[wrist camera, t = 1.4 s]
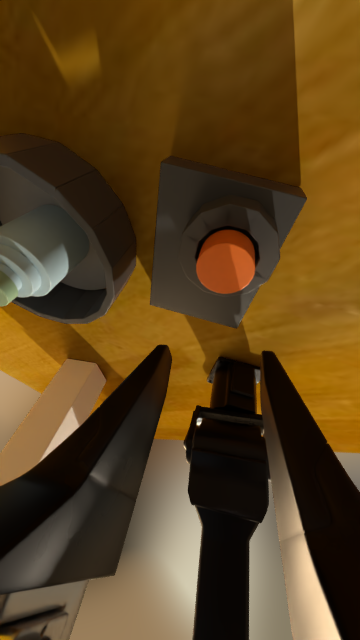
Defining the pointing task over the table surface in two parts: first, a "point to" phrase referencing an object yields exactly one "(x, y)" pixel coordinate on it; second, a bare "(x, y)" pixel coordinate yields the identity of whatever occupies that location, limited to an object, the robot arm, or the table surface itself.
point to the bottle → (39, 252)
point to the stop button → (226, 262)
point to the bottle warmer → (85, 208)
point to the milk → (52, 417)
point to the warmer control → (207, 218)
